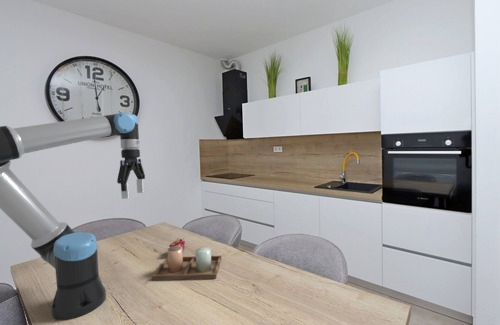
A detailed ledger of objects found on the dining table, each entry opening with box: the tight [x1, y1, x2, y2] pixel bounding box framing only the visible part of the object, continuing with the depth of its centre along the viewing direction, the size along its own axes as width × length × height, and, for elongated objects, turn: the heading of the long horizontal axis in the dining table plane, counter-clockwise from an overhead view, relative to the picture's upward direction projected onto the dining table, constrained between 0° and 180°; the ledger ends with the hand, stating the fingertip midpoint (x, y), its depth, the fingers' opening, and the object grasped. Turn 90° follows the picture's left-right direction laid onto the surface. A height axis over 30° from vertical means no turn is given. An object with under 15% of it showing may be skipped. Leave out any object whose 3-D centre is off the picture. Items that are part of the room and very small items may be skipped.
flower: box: [169, 238, 186, 251], centre depth 120 cm, size 10×9×8 cm
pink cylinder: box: [167, 246, 184, 273], centre depth 103 cm, size 6×6×9 cm
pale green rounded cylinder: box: [195, 246, 212, 272], centre depth 103 cm, size 6×6×8 cm
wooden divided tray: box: [151, 255, 222, 282], centre depth 103 cm, size 17×25×2 cm
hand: (133, 195), depth 111 cm, fingers open, 13 cm apart
